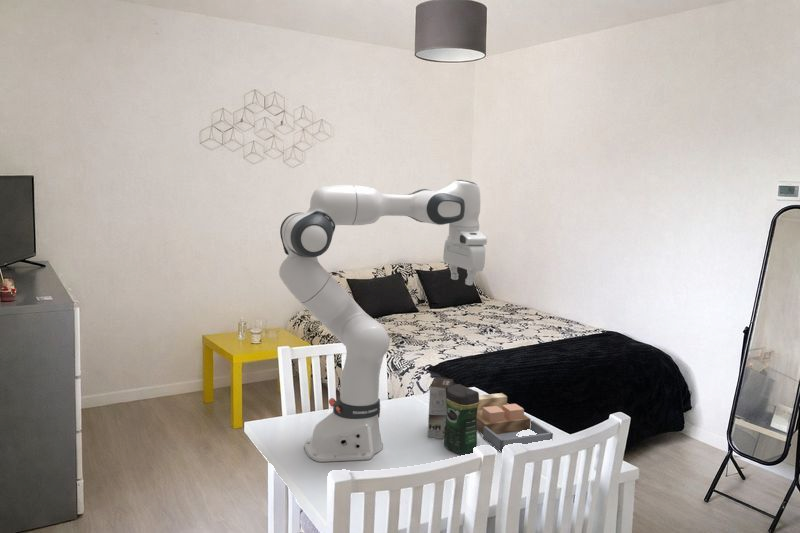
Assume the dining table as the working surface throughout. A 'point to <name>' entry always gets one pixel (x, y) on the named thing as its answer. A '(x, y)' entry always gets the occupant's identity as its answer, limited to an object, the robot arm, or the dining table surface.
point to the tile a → (493, 414)
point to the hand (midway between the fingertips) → (461, 282)
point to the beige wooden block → (492, 400)
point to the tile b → (513, 411)
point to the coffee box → (438, 407)
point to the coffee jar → (461, 419)
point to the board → (502, 424)
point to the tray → (511, 437)
